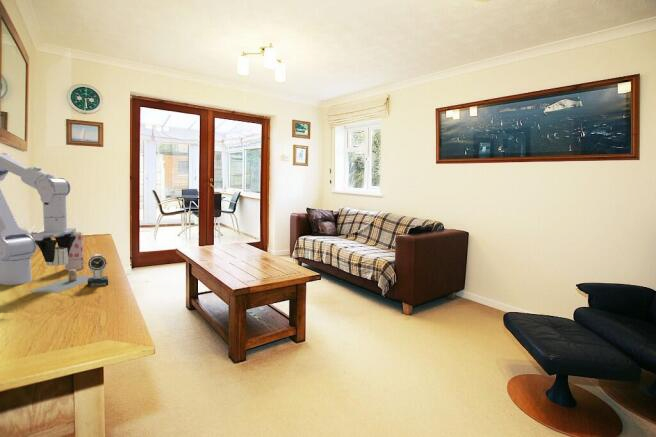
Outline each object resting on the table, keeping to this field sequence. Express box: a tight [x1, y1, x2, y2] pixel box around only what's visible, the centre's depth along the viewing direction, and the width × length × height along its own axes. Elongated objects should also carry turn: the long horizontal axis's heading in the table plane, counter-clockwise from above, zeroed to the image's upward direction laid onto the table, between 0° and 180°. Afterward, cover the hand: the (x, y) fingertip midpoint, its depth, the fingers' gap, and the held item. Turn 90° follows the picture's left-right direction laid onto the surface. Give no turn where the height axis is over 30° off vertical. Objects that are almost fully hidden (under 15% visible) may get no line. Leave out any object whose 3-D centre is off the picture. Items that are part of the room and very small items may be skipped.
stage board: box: [28, 274, 93, 294], centre depth 116 cm, size 9×20×1 cm, turn 179°
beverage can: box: [64, 231, 85, 272], centre depth 135 cm, size 6×6×15 cm
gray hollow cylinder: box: [45, 246, 68, 267], centre depth 113 cm, size 5×5×5 cm
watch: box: [87, 253, 109, 288], centre depth 116 cm, size 6×8×11 cm
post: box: [67, 269, 78, 282], centre depth 119 cm, size 2×2×4 cm
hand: (56, 259), depth 113 cm, fingers closed on gray hollow cylinder, 5 cm apart
